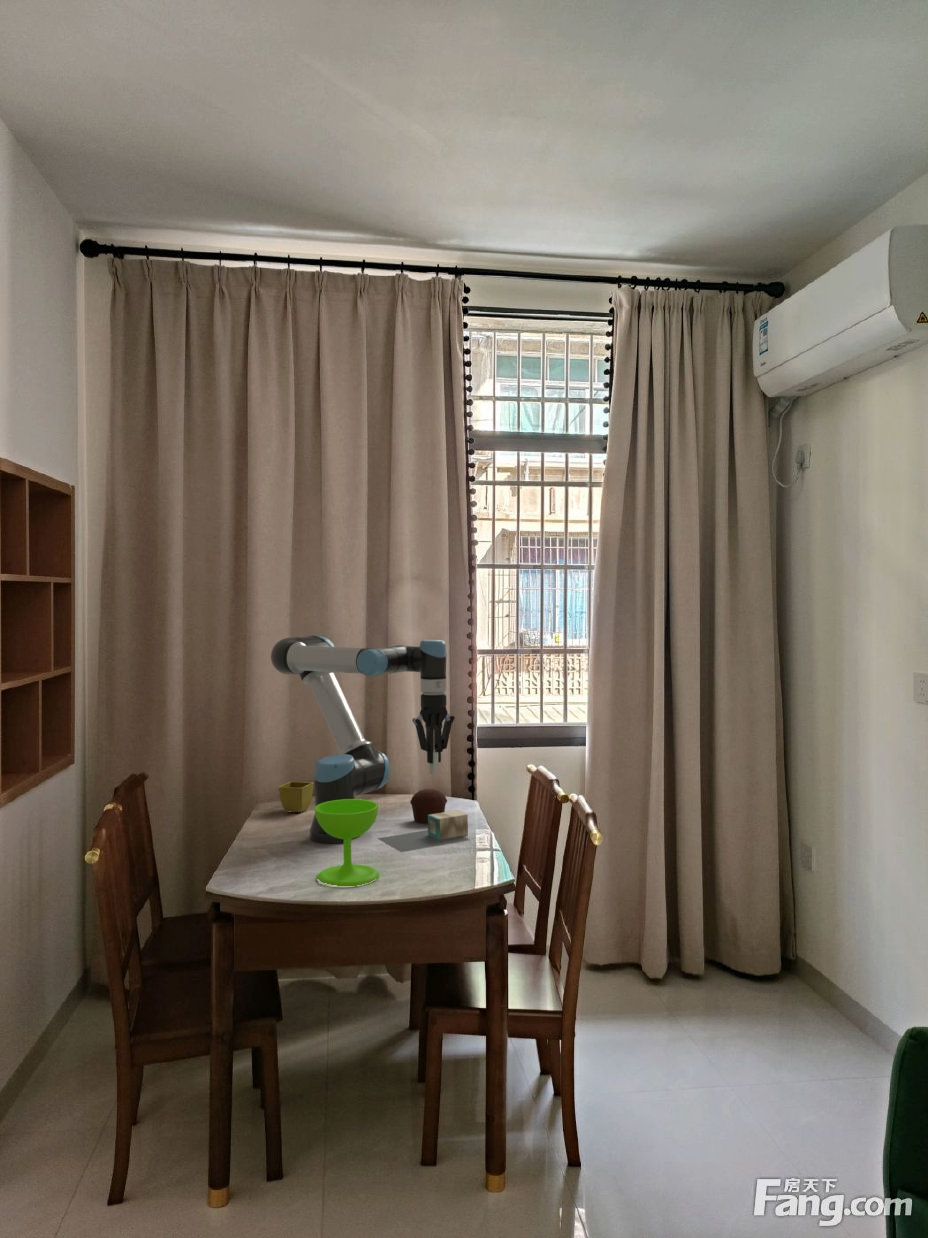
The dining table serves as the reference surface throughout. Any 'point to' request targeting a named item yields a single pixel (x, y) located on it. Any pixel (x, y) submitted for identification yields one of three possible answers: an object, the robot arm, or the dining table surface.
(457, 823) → the maple block
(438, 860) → the dining table surface
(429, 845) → the slate mat
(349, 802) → the wineglass
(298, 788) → the flower pot
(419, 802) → the muffin
